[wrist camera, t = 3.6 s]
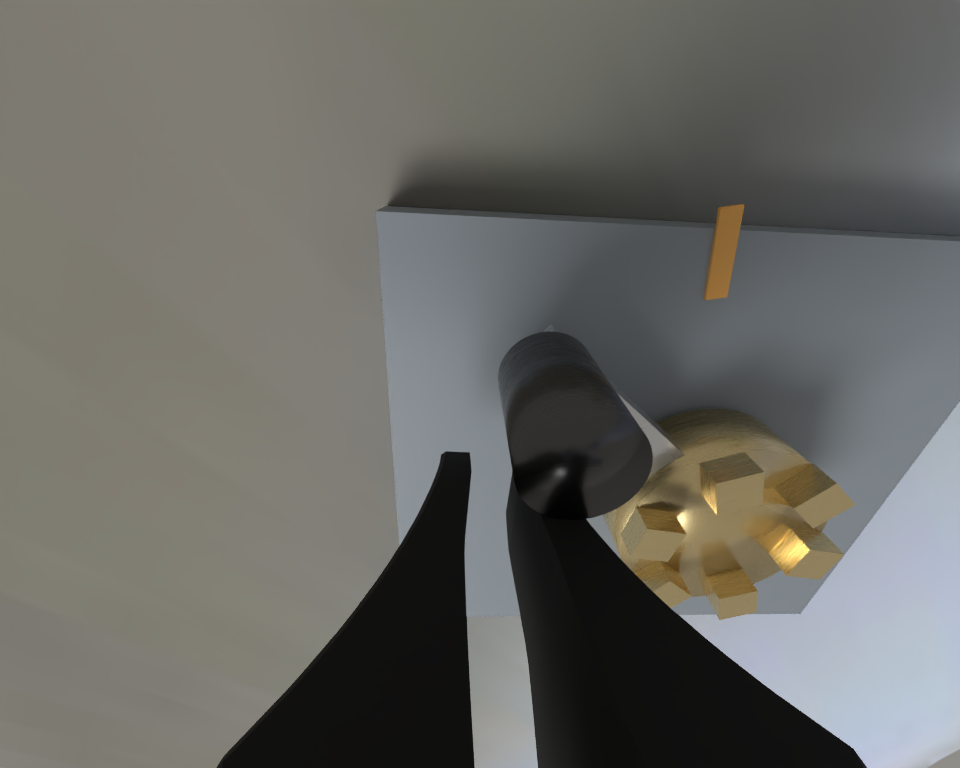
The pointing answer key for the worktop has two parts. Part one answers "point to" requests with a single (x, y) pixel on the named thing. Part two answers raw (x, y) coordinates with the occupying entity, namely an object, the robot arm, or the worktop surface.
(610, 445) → the spiked mace toy
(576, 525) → the robot arm
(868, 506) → the grey board
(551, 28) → the worktop surface
